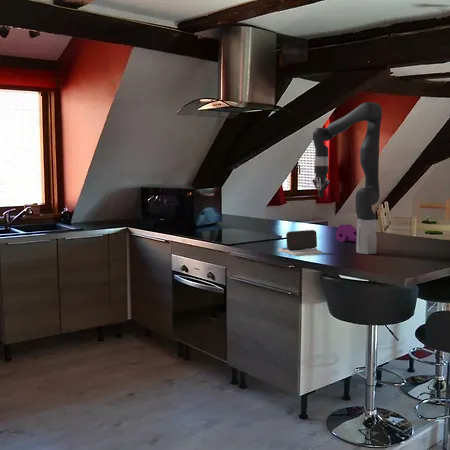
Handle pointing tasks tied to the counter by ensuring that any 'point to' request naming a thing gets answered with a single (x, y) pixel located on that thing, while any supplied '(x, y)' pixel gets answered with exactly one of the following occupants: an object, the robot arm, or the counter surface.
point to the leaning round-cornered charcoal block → (301, 240)
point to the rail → (301, 250)
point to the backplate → (299, 252)
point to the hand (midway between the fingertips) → (320, 197)
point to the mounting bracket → (346, 233)
